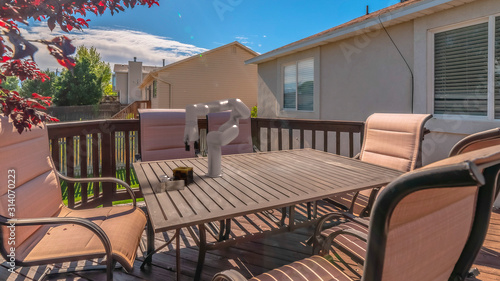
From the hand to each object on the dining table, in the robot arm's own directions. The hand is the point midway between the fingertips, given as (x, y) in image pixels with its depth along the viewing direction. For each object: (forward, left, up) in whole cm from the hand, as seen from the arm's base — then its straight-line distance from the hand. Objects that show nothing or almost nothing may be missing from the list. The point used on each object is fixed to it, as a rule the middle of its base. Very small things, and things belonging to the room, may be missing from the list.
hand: (192, 149), depth 189 cm
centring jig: (+26, 0, -20) cm, 33 cm away
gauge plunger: (+25, 0, -15) cm, 29 cm away
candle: (+10, 0, -21) cm, 23 cm away
